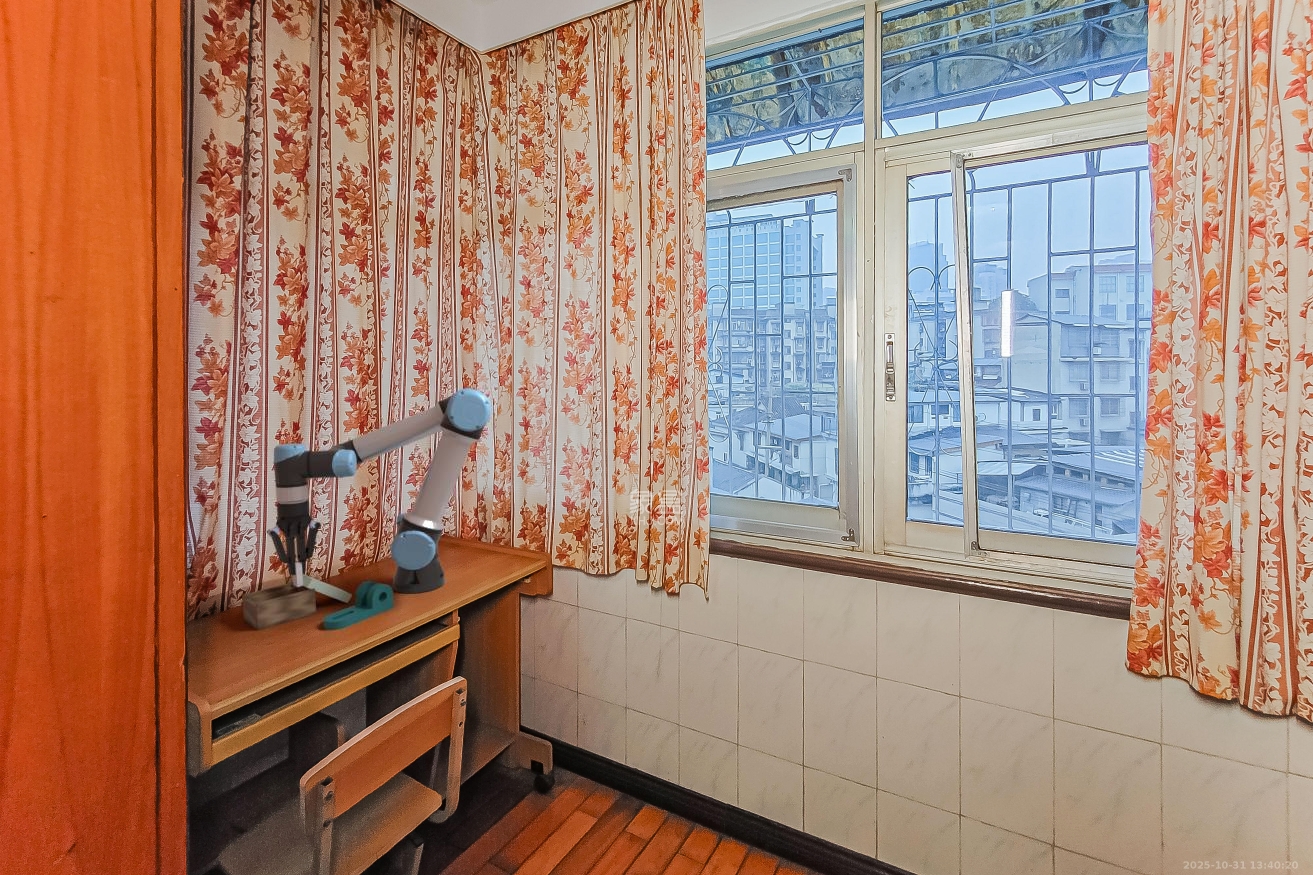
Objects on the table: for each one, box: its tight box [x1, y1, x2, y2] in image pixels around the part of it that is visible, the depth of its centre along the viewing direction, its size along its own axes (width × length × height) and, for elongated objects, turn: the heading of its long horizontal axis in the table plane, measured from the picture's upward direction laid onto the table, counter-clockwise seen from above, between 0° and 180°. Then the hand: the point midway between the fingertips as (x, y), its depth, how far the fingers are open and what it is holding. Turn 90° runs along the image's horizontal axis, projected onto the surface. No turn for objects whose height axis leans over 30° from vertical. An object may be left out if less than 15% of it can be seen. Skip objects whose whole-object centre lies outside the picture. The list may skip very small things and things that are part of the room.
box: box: [241, 582, 317, 631], centre depth 161 cm, size 14×10×7 cm
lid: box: [302, 573, 353, 604], centre depth 170 cm, size 13×8×2 cm
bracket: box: [322, 580, 394, 631], centre depth 162 cm, size 18×7×8 cm, turn 154°
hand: (298, 585), depth 165 cm, fingers closed
